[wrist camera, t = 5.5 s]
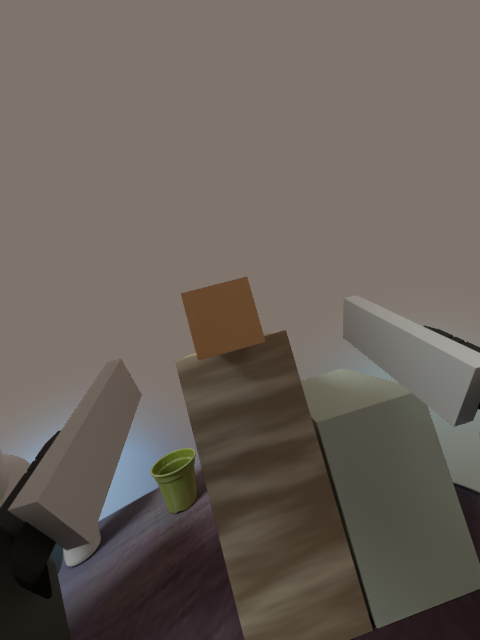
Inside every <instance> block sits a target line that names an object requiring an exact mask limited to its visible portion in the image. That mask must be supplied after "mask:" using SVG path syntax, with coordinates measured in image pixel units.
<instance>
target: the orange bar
mask: <svg viewBox="0 0 480 640" xmlns="http://www.w3.org/2000/svg"><path fill="white" fill-rule="evenodd" d="M181 296H182V300H183V304H184V308H185V312H186V315H187V319H188V323H189V327H190V331H191V335H192V339H193V343H194V347H195V350H196V354H197V358H198V361H199V360H203V359H206V358H210V357H213V356H217V355H221V354H224V353H228V352H231V351H235V350H238V349H242V348H246V347H249V346H253V345H256V344H260V343H263V342H265V338H264V335H263V331H262V328H261V325H260V321H259V317H258V313H257V310H256V306H255V303H254V299H253V296H252V292H251V289H250V286H249V282H248V278H247V277H243V278H240V279H236V280H232V281H228V282H224V283H220V284H216V285H212V286H208V287H205V288H201V289H197V290H193V291H189V292H186V293H181Z"/></svg>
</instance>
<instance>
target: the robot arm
mask: <svg viewBox="0 0 480 640" xmlns="http://www.w3.org/2000/svg"><path fill="white" fill-rule="evenodd" d="M343 317H344V318H343V319H344V320H343V338H344V339H346V340H347V341H348V342H349V343H351V344H352V345H353V346H354V347H356V348H357V349H358V350H359V351H361V352H362V353H363V354H364V355H365V356H367V357H368V358H369V359H370V360H372V361H373V362H374V363H376V364H377V365H378V366H379V367H380V368H382V369H383V370H384V371H385V372H387V373H388V374H389V375H390V376H392V377H393V378H394V379H395V380H396V381H398V382H399V383H400V384H401V385H403V386H404V387H405V388H406V389H408V390H409V391H410V392H411V393H413V394H414V395H415V396H416V397H418V398H419V399H420V400H421V401H423V402H424V403H425V404H426V405H427V406H429V407H430V408H431V409H432V410H434V411H435V412H436V413H437V414H439V415H440V416H441V417H442V418H444V419H445V420H446V421H447V422H449V423H450V424H451V425H452V426H454V427H455V426H458V425H461V424H464V423H467V422H470V421H473V419H474V417H475V414H476V412H477V410H478V409H479V410H480V347H477V346H475V345H473V344H471V343H469V342H465V341H464V340H462V339H460V338H457V337H453V335H451V334H448V333H446V332H444V331H442V330H439V329H435V328H431V327H427V326H421V325H419V324H417V323H415V322H412V321H410V320H408V319H406V318H404V317H402V316H400V315H397V314H395V313H393V312H391V311H389V310H386V309H384V308H382V307H380V306H378V305H376V304H374V303H372V302H369V301H367V300H365V299H363V298H361V297H359V296H356V295H355V296H351V297H347V298H344V316H343ZM140 398H141V393H140V391H139V389H138V387H137V385H136V384H135V382H134V380H133V379H132V377H131V375H130V373H129V372H128V370H127V368H126V367H125V365H124V363H123V361H122V360H121V359H118V360H114V361H111V362H107V363H106V365H105V366H104V368H103V369H102V371H101V372H100V374H99V375H98V377H97V378H96V380H95V381H94V383H93V384H92V386H91V387H90V389H89V390H88V391H87V393H86V394H85V396H84V397H83V399H82V400H81V402H80V403H79V405H78V406H77V408H76V409H75V411H74V413H73V414H72V415H71V417H70V418H69V420H68V421H67V423H66V424H65V426H64V427H63V429H62V430H61V431H58V432H57V433H56V434H55V435H54V436H53V437H52V438H51V439H50V440H49V441H48V442H47V443H46V444H45V445H44V447H43V448H42V449H41V451H40V452H39V454H38V455H37V457H36V458H35V461H33V462H32V463H31V465H30V463H29V462H27V461H26V460H25V459H22V458H20V457H17V456H13V455H5V454H2V453H1V451H0V640H71V638H70V633H69V628H68V623H67V619H66V614H65V609H64V604H63V599H62V594H61V589H60V584H59V580H58V573H59V571H60V569H61V566H62V561H63V549H65V550H66V551H67V550H70V549H73V548H77V547H80V546H83V545H86V544H89V543H91V540H92V537H93V534H94V531H95V528H96V525H97V522H98V520H99V517H100V514H101V511H102V508H103V505H104V502H105V499H106V496H107V493H108V491H109V488H110V485H111V482H112V479H113V476H114V473H115V470H116V467H117V465H118V462H119V459H120V455H121V453H122V450H123V447H124V444H125V441H126V439H127V436H128V433H129V430H130V427H131V424H132V421H133V418H134V415H135V412H136V410H137V407H138V404H139V401H140Z"/></svg>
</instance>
